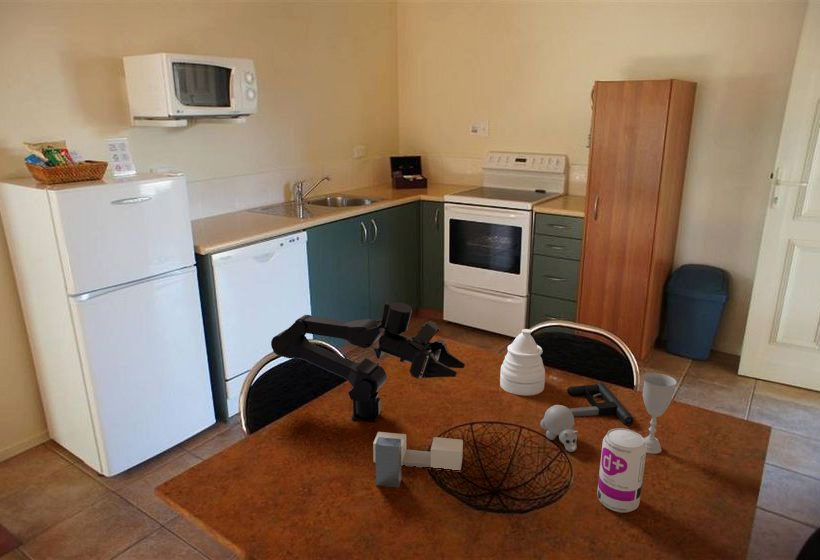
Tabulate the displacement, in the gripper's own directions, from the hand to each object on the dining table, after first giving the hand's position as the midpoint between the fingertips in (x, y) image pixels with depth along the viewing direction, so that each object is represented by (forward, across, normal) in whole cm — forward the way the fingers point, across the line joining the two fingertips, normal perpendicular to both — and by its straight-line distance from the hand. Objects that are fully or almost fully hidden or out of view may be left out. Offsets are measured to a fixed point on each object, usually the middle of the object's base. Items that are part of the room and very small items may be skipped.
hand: (460, 370), depth 138 cm
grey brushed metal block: (-4, -20, +24) cm, 31 cm away
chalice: (+48, +11, +4) cm, 49 cm away
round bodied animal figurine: (+28, +8, +10) cm, 30 cm away
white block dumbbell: (-1, -10, +21) cm, 23 cm away
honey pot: (+14, +34, +8) cm, 38 cm away
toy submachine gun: (+34, +27, +4) cm, 44 cm away
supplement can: (+41, -12, +10) cm, 44 cm away
